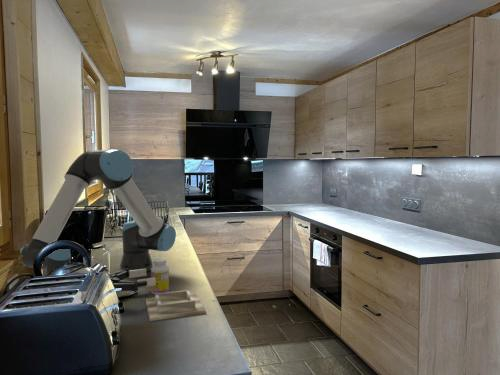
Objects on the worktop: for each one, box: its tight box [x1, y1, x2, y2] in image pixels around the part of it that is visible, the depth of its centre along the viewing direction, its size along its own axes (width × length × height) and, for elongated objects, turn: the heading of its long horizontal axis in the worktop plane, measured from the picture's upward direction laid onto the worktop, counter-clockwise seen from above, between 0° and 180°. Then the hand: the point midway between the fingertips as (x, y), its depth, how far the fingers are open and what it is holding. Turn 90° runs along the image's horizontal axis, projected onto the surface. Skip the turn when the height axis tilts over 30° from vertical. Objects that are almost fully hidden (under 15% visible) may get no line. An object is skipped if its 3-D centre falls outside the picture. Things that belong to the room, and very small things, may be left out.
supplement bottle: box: [150, 257, 170, 296], centre depth 146 cm, size 7×7×13 cm
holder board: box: [145, 289, 207, 322], centre depth 131 cm, size 18×18×4 cm
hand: (150, 276), depth 144 cm, fingers open, 13 cm apart
